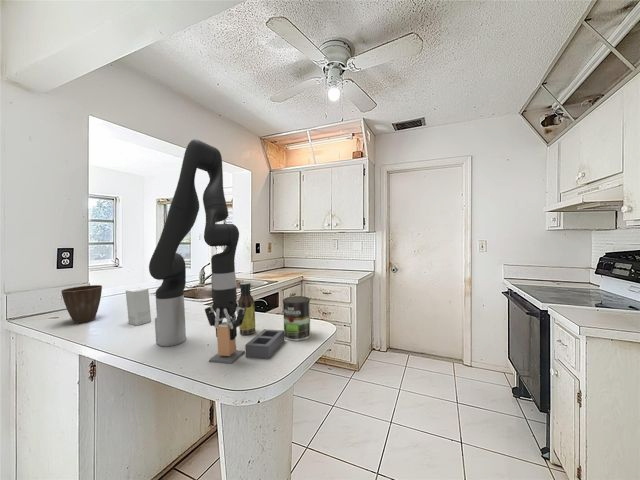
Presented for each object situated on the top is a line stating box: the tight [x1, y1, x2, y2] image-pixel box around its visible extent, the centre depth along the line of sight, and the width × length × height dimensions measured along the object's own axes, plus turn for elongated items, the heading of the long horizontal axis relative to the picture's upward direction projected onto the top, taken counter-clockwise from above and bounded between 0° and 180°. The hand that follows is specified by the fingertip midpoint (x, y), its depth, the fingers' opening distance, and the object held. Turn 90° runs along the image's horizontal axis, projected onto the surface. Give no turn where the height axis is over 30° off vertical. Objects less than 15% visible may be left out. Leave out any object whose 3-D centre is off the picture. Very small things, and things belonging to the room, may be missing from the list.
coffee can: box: [282, 295, 312, 342], centre depth 107 cm, size 10×10×14 cm
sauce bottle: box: [237, 282, 256, 336], centre depth 112 cm, size 6×6×20 cm
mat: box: [208, 349, 246, 365], centre depth 91 cm, size 8×8×1 cm
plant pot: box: [60, 284, 103, 324], centre depth 134 cm, size 15×15×16 cm
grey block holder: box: [244, 328, 286, 360], centre depth 96 cm, size 8×14×4 cm, turn 166°
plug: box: [216, 321, 237, 356], centre depth 90 cm, size 4×4×10 cm
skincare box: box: [125, 287, 152, 326], centre depth 129 cm, size 8×7×16 cm
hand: (226, 338), depth 90 cm, fingers closed on plug, 4 cm apart
